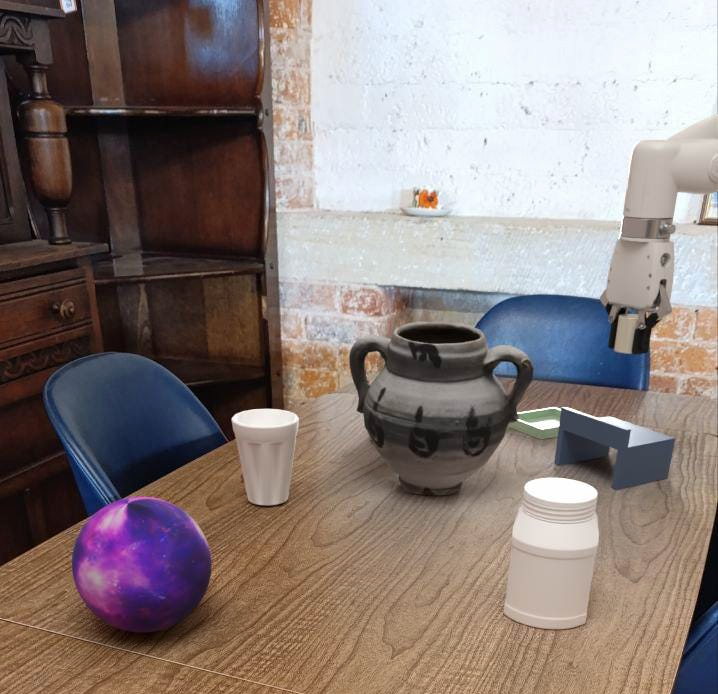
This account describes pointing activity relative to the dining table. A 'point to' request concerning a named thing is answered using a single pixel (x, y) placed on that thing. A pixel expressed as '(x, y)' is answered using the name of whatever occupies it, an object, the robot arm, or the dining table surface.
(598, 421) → the stand
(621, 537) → the dining table surface
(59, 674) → the dining table surface
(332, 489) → the dining table surface
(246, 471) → the cup
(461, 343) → the ceramic pot
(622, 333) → the canister
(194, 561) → the decorative orb
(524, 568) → the jar
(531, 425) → the tray
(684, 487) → the dining table surface
